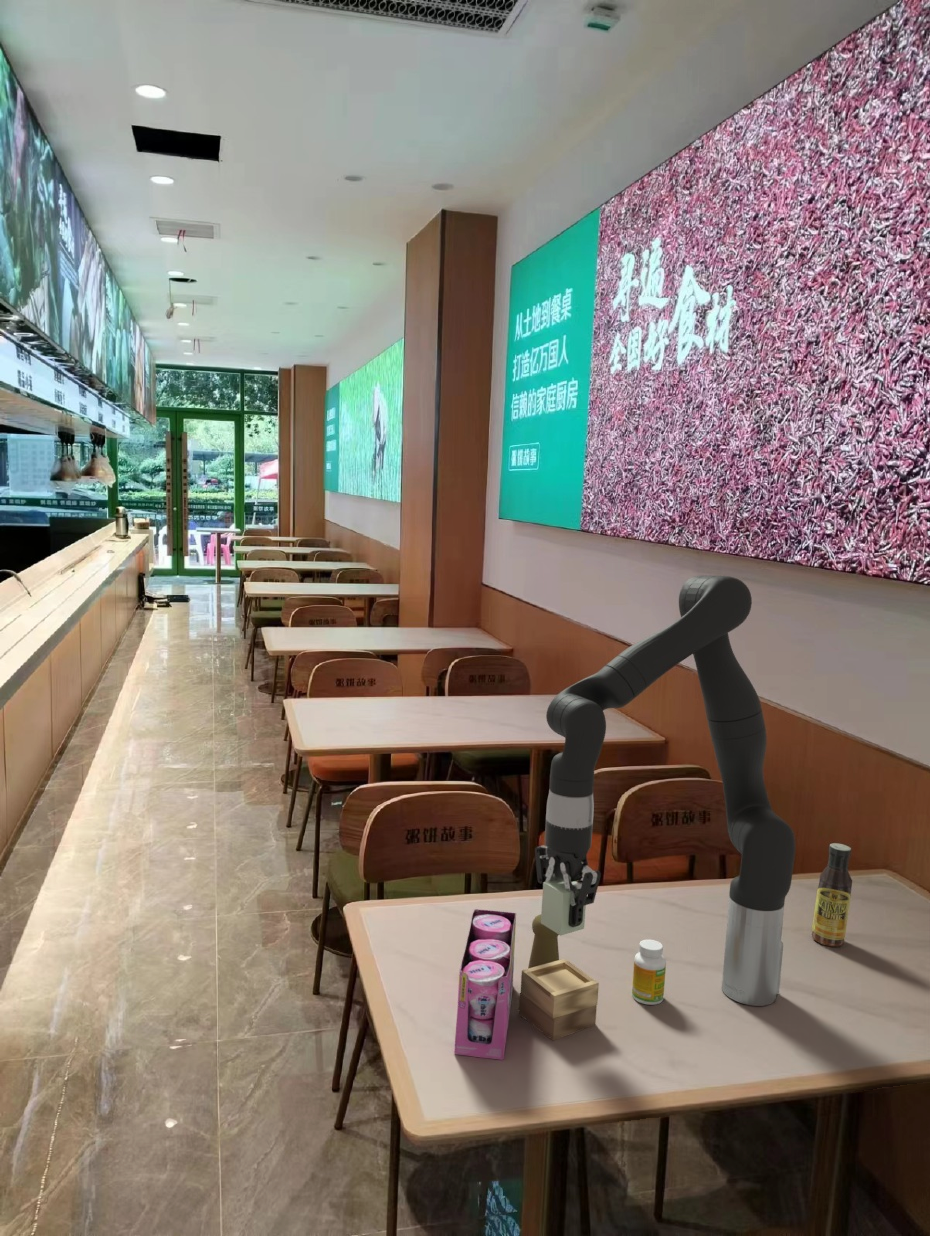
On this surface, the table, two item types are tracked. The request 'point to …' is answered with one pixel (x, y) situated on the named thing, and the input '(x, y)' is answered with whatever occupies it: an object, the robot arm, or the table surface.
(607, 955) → the table surface
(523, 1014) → the block bottom
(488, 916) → the gum box
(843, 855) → the sauce bottle
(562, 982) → the block top
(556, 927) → the green block
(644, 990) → the supplement bottle
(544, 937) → the cork
